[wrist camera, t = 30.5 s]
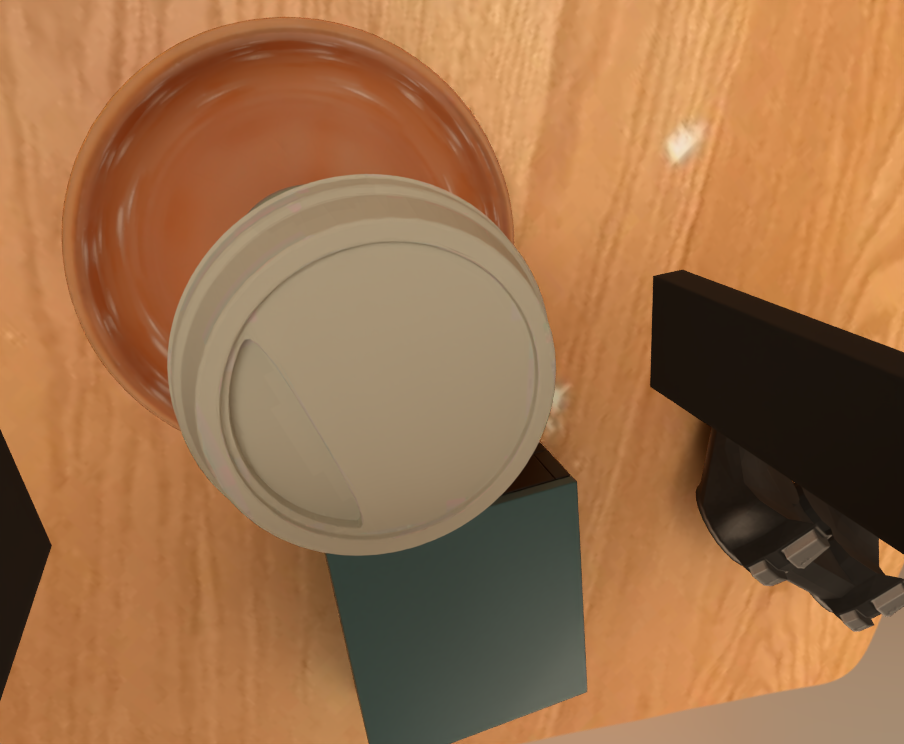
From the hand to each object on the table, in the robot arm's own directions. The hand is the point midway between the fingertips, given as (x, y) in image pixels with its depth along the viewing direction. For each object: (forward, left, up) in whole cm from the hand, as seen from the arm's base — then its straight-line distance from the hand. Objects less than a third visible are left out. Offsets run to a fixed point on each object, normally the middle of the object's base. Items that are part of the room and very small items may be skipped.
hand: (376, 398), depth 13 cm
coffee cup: (0, 0, -12) cm, 12 cm away
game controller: (+24, -18, -15) cm, 34 cm away
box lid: (+4, -18, -11) cm, 22 cm away
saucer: (0, 0, -15) cm, 15 cm away
